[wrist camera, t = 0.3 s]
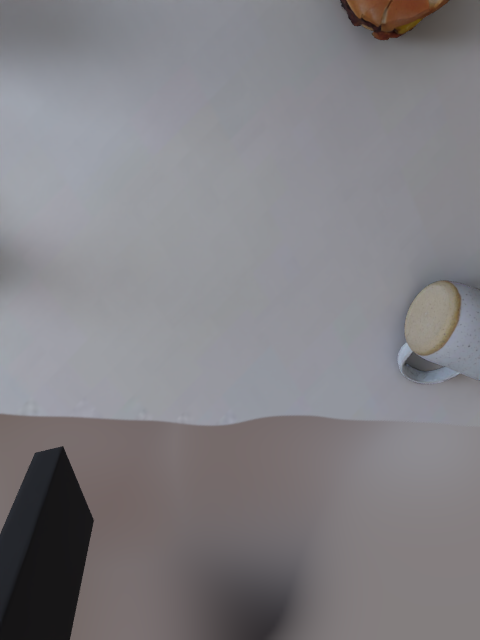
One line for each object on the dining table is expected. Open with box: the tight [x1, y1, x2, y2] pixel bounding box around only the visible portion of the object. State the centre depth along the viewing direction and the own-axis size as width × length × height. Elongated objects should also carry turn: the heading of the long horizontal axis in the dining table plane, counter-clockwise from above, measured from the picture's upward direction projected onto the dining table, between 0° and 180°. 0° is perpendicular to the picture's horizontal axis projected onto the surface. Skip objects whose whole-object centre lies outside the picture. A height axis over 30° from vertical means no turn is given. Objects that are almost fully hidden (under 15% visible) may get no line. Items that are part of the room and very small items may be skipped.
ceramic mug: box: [398, 281, 480, 384], centre depth 41 cm, size 11×8×8 cm
